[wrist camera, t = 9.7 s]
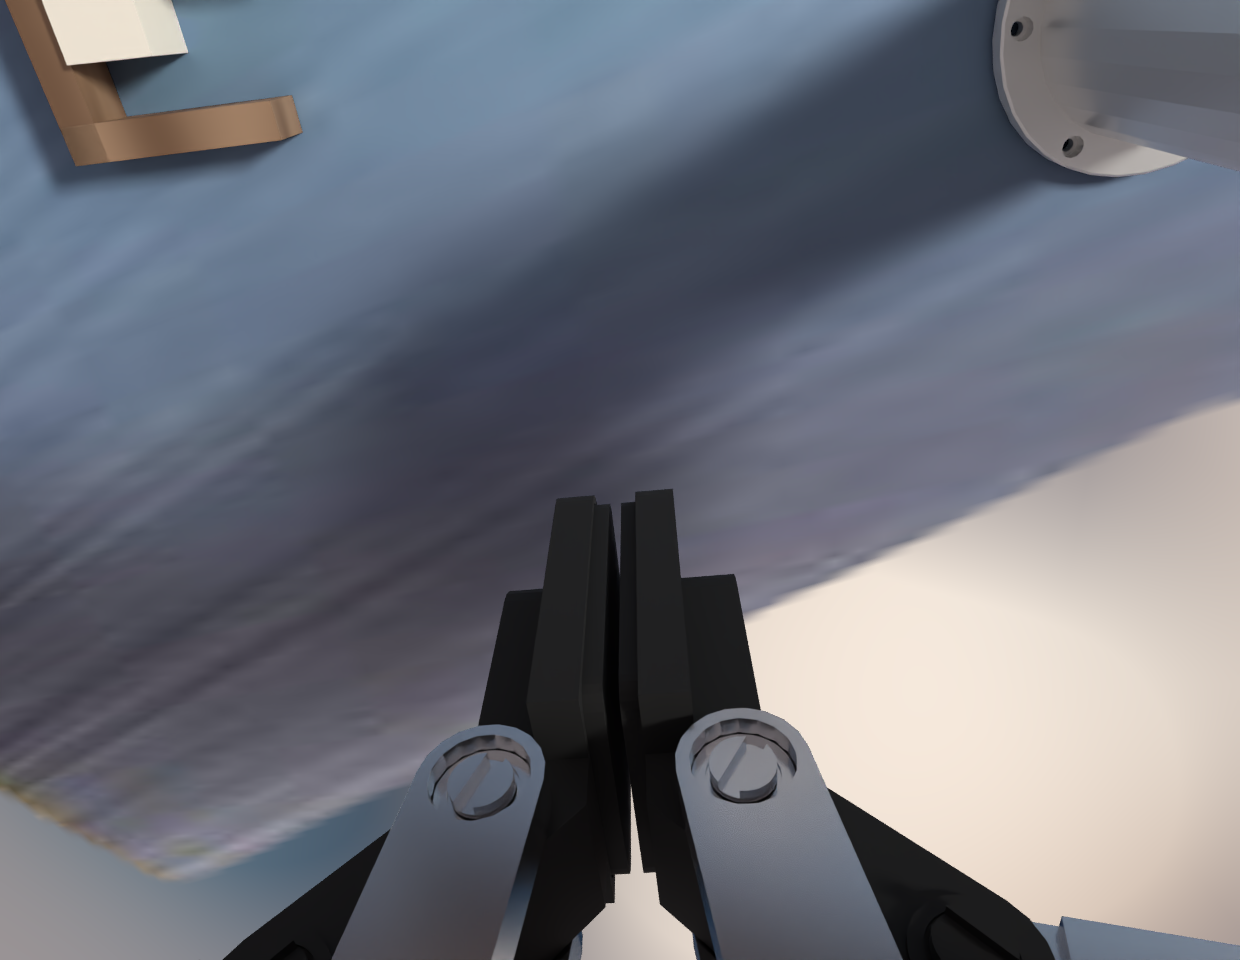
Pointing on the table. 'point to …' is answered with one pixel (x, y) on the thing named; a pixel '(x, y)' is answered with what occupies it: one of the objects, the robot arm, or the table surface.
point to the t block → (114, 29)
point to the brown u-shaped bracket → (110, 135)
